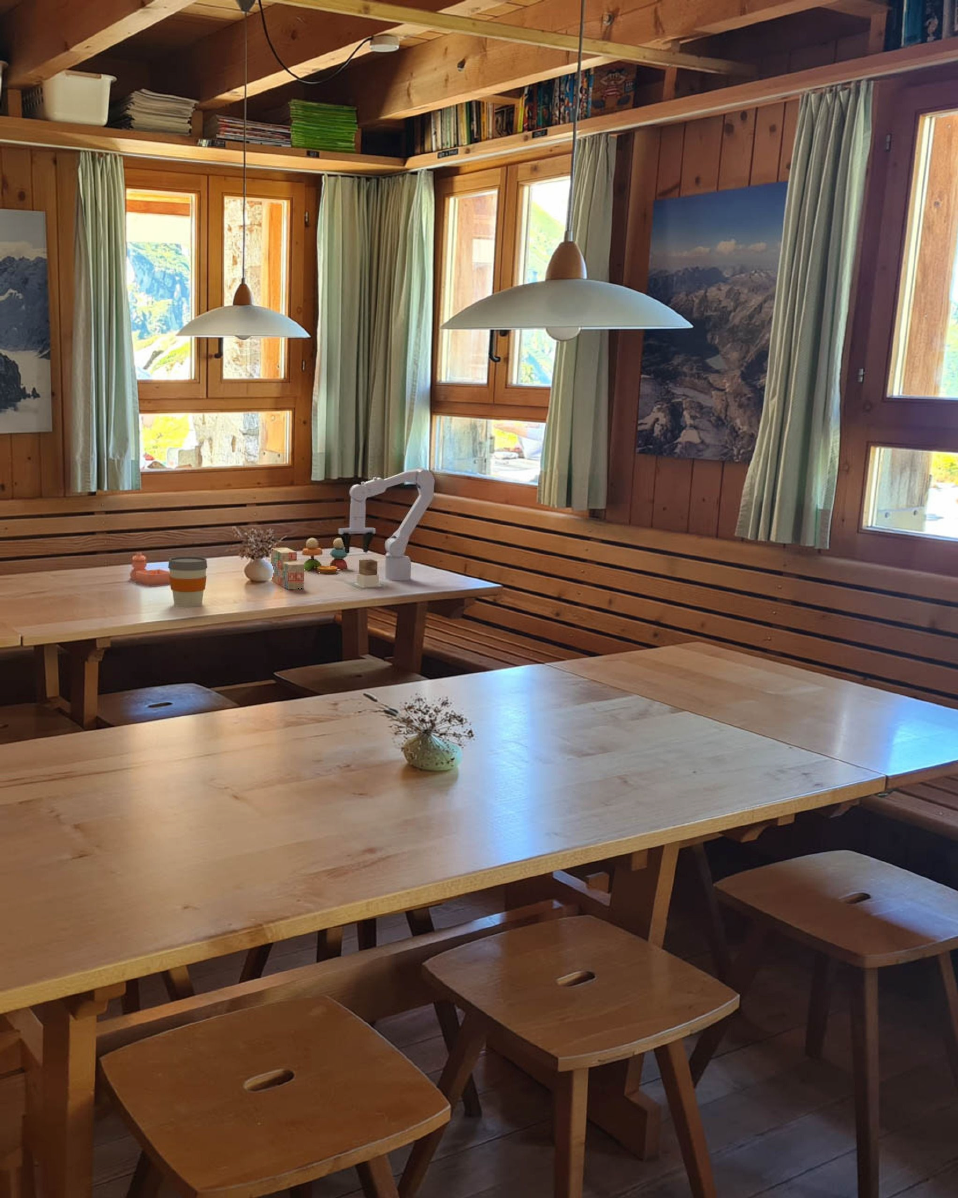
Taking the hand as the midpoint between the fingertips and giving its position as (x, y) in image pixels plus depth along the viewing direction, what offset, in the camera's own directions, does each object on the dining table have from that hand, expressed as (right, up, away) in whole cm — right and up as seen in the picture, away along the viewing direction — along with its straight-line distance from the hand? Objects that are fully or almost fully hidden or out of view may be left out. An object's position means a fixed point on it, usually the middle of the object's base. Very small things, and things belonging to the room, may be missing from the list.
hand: (356, 552), depth 446 cm
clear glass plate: (+5, -13, -10) cm, 17 cm away
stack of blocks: (-24, -12, -13) cm, 30 cm away
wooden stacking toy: (-13, -6, +21) cm, 26 cm away
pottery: (-74, -11, -17) cm, 77 cm away
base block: (+5, -12, -10) cm, 17 cm away
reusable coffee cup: (-50, -19, -55) cm, 77 cm away
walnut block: (+5, -8, -10) cm, 14 cm away
